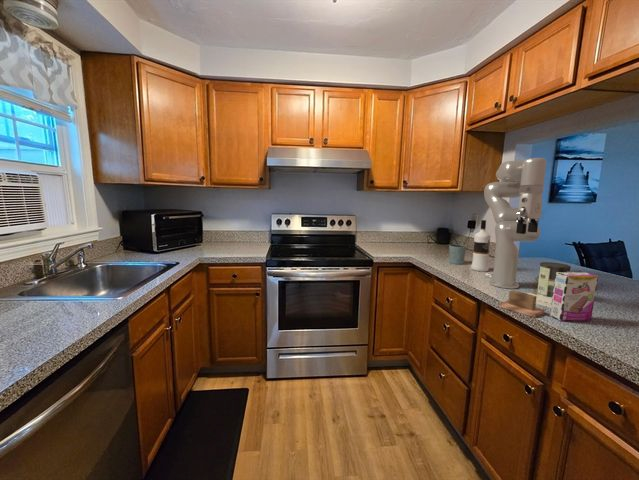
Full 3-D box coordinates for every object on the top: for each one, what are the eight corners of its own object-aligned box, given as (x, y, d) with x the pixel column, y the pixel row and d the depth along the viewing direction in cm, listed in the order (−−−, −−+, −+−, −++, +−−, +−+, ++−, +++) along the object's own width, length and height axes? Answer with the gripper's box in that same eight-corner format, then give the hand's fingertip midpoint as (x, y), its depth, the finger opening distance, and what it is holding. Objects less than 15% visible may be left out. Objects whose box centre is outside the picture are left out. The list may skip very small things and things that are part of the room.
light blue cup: (461, 262, 191) (462, 244, 190) (467, 265, 181) (469, 247, 180) (445, 261, 192) (447, 244, 190) (451, 265, 182) (452, 246, 181)
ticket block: (519, 299, 119) (519, 295, 119) (528, 296, 123) (528, 292, 123) (554, 308, 109) (554, 304, 109) (562, 304, 113) (563, 300, 113)
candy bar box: (561, 322, 97) (567, 275, 95) (549, 316, 102) (554, 271, 100) (592, 321, 97) (599, 275, 95) (579, 315, 102) (585, 271, 100)
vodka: (474, 267, 175) (478, 219, 171) (491, 270, 168) (495, 220, 164) (468, 269, 170) (471, 219, 165) (484, 272, 162) (489, 220, 158)
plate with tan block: (499, 306, 111) (500, 290, 110) (508, 303, 114) (510, 287, 113) (534, 317, 100) (536, 300, 100) (544, 313, 104) (546, 296, 103)
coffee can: (571, 297, 122) (575, 265, 120) (560, 301, 117) (564, 268, 115) (543, 290, 131) (546, 261, 129) (531, 294, 126) (535, 263, 124)
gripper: (532, 189, 105) (527, 235, 107) (551, 190, 114) (547, 232, 116) (510, 190, 111) (505, 233, 114) (530, 190, 120) (526, 230, 123)
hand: (526, 232), depth 115 cm, fingers open, 9 cm apart
